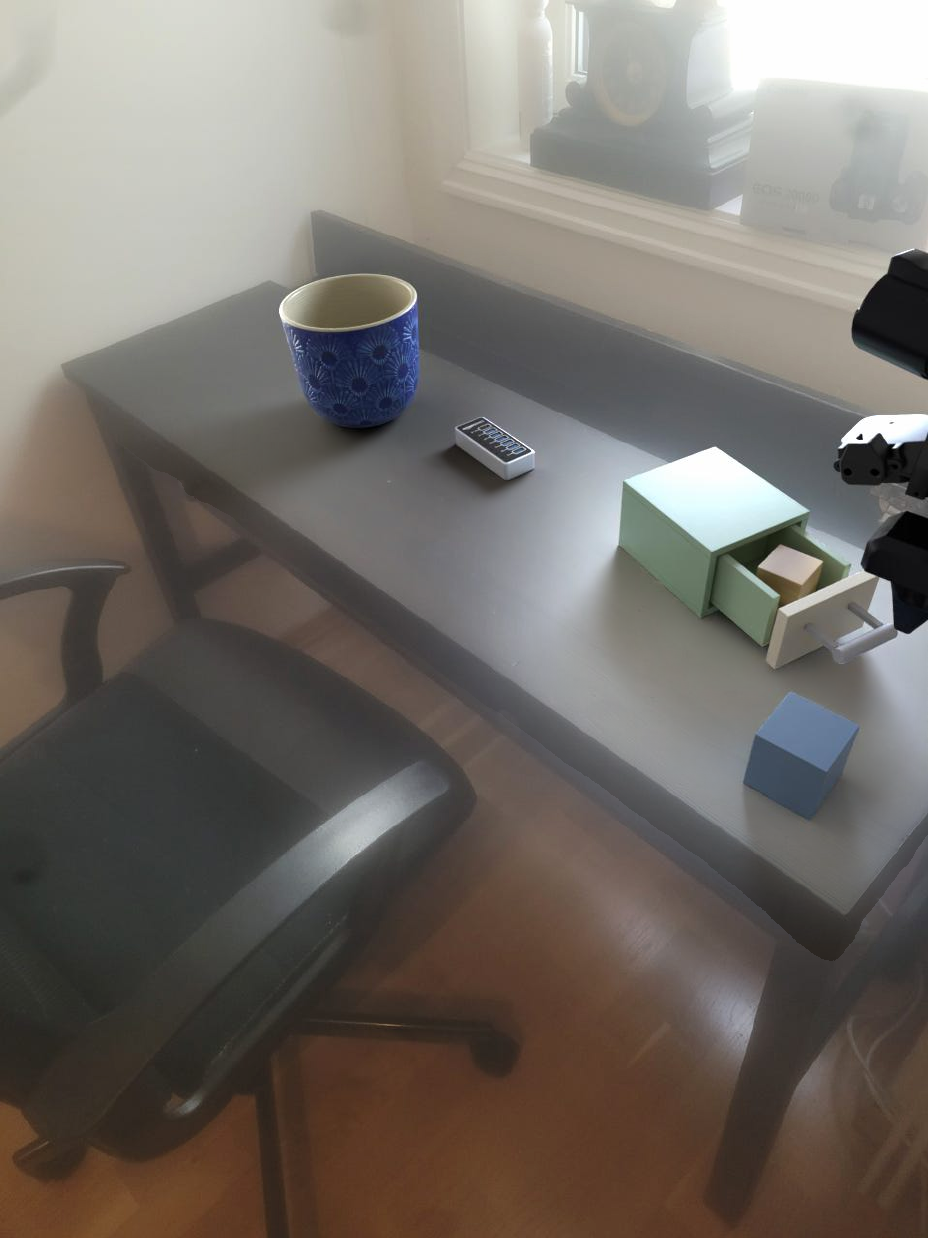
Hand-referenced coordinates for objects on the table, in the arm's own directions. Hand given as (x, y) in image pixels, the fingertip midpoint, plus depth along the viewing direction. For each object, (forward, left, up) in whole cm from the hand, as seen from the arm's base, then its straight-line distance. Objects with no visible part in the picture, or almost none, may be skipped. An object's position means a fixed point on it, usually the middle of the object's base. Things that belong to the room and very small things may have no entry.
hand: (926, 596), depth 64 cm
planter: (+36, -65, -13) cm, 75 cm away
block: (+3, -13, -11) cm, 17 cm away
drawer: (+3, -11, -12) cm, 17 cm away
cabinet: (+6, -23, -13) cm, 27 cm away
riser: (+10, +4, -13) cm, 17 cm away
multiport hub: (+22, -49, -13) cm, 55 cm away
